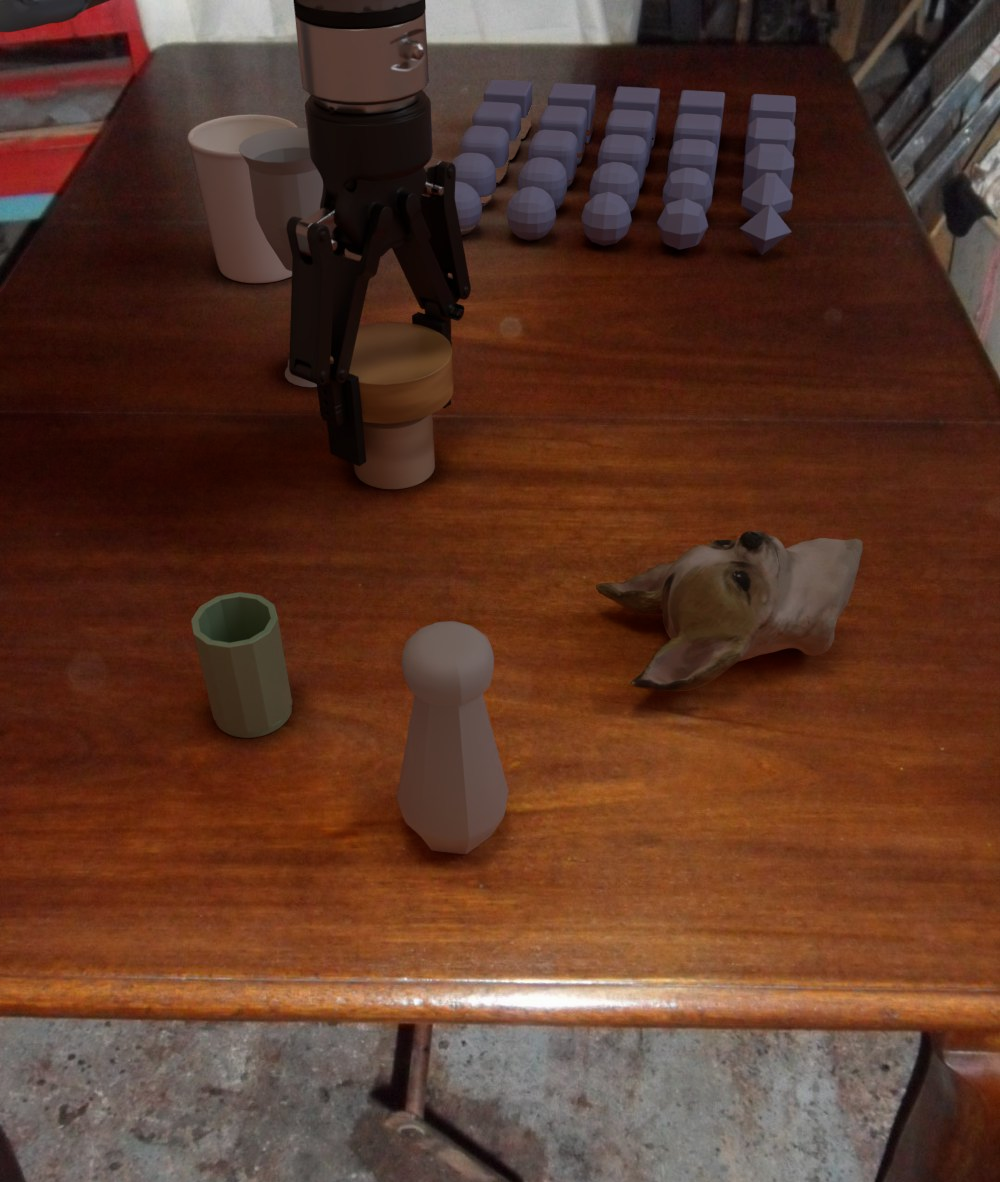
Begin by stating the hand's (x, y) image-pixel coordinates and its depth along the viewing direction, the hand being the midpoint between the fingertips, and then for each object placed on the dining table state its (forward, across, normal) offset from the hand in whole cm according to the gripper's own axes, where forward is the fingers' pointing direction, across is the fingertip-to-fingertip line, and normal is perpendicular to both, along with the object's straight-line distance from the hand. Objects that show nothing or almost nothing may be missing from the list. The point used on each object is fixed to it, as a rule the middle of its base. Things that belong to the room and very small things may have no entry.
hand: (392, 428), depth 86 cm
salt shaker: (+4, -25, -25) cm, 36 cm away
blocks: (+3, +56, +15) cm, 58 cm away
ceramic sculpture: (+4, -4, -30) cm, 30 cm away
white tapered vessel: (+3, +20, +33) cm, 38 cm away
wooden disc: (-3, 0, 0) cm, 3 cm away
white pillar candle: (+3, 0, 0) cm, 3 cm away
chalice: (+3, +7, +15) cm, 17 cm away
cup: (+3, -25, -10) cm, 27 cm away
